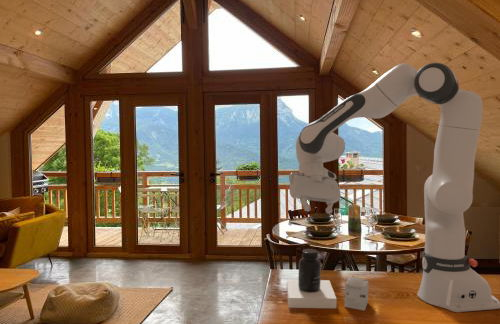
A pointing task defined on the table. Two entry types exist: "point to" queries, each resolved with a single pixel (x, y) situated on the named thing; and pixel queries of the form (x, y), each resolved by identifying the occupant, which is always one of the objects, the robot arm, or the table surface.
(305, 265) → the supplement bottle
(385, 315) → the table surface
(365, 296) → the skincare box
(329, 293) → the stand
